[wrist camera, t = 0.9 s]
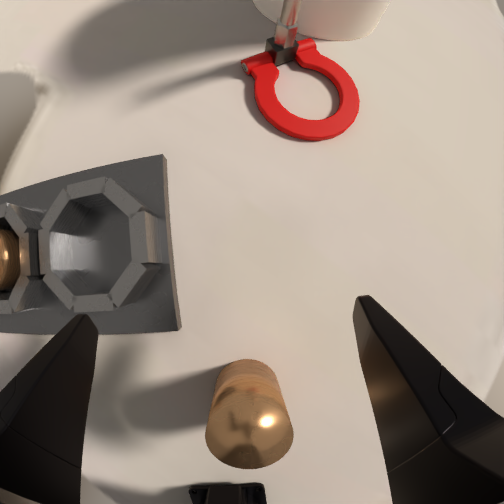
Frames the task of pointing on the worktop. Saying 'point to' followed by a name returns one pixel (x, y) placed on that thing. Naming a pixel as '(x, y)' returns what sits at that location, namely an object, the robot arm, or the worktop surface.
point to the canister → (331, 17)
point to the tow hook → (308, 57)
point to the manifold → (90, 251)
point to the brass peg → (248, 417)
